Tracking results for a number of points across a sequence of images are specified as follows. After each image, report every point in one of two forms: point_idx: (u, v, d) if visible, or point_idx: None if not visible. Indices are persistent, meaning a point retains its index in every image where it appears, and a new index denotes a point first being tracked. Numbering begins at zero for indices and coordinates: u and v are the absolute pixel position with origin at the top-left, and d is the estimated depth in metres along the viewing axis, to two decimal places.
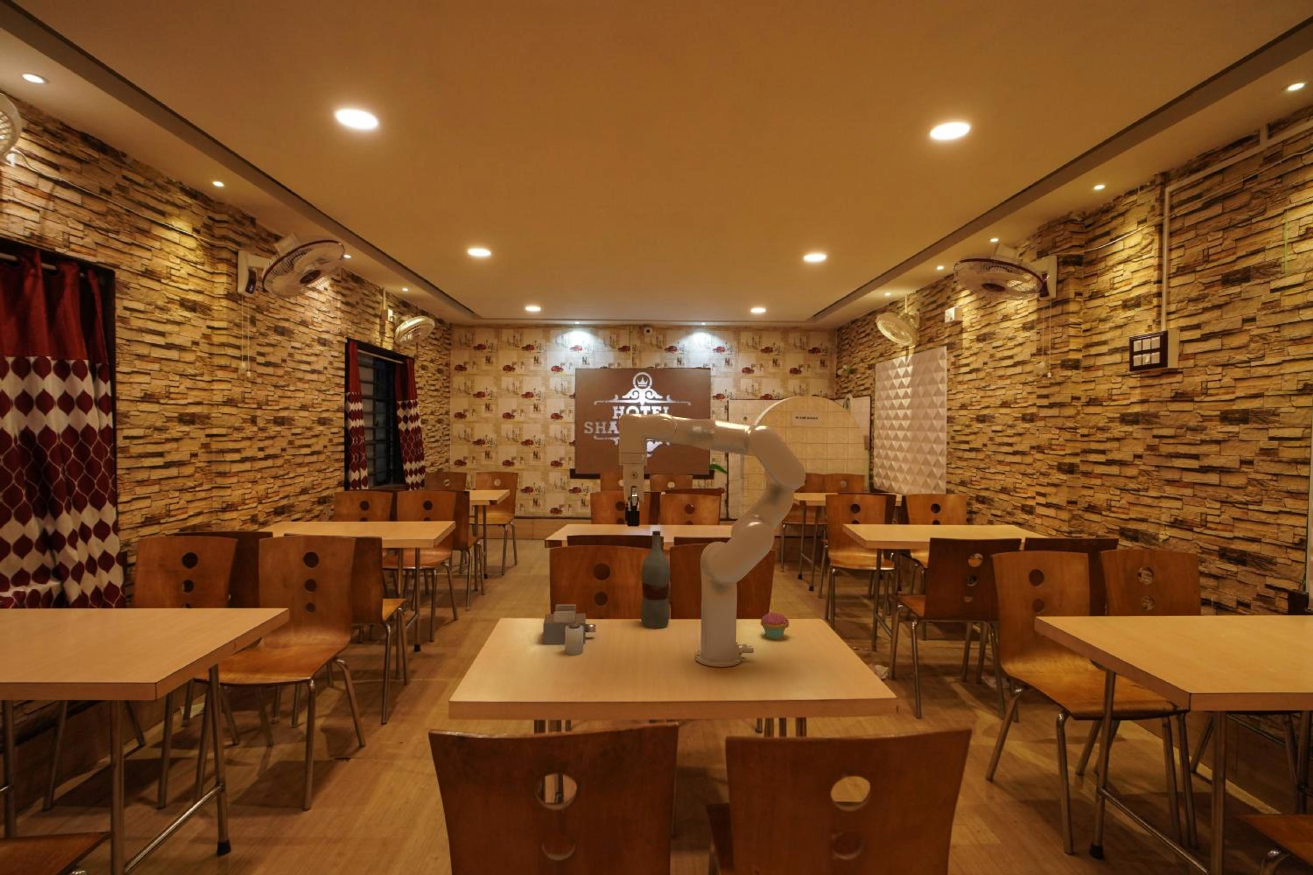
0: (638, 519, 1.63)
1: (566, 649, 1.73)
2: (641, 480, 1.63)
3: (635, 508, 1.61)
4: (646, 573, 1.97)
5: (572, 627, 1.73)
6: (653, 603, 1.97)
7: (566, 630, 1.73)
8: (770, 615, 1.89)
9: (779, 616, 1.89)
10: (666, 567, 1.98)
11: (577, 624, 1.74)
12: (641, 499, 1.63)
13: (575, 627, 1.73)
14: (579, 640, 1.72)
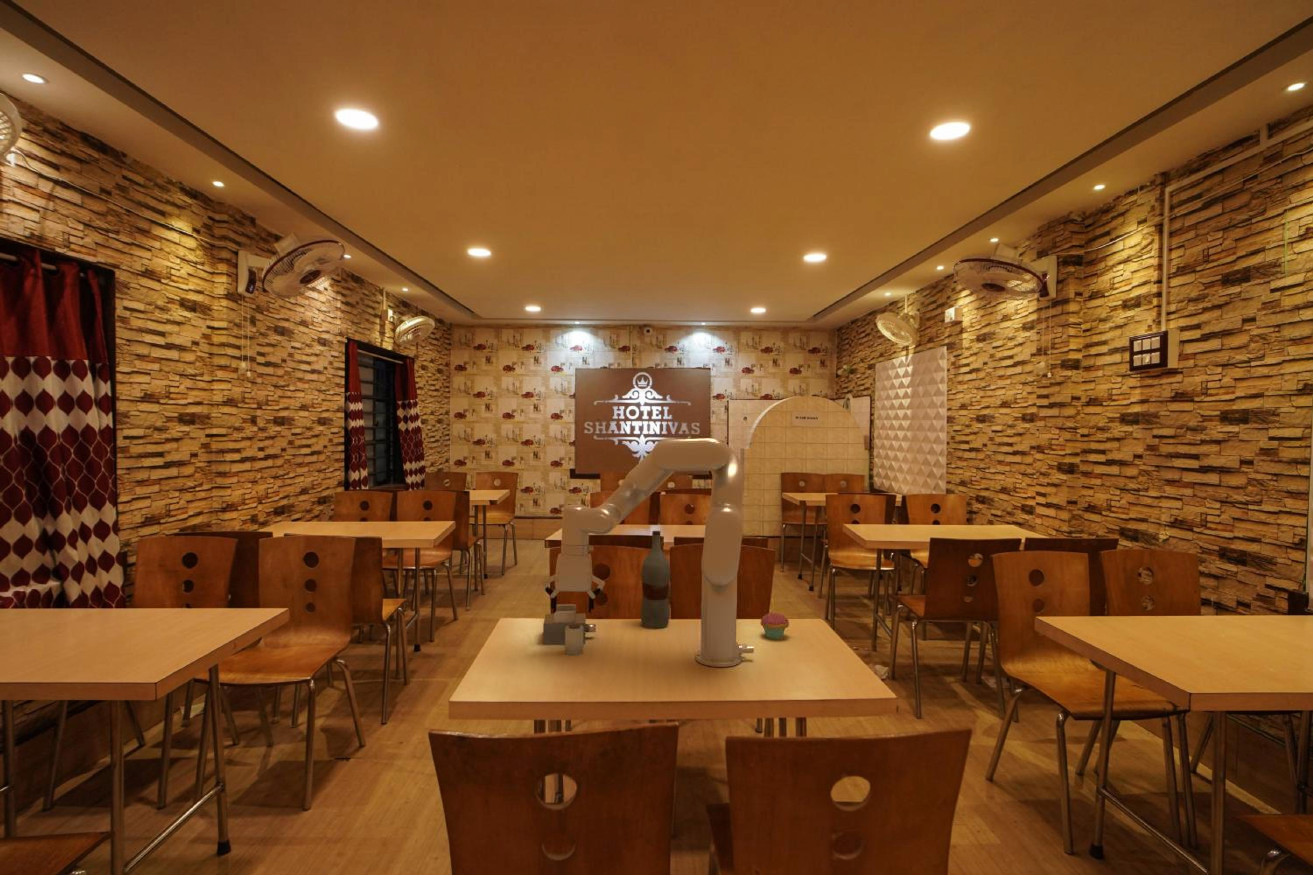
0: None
1: (566, 649, 1.73)
2: None
3: None
4: (646, 573, 1.97)
5: (572, 627, 1.73)
6: (653, 603, 1.97)
7: (566, 630, 1.73)
8: (770, 615, 1.89)
9: (779, 616, 1.89)
10: (666, 567, 1.98)
11: (577, 624, 1.74)
12: None
13: (575, 627, 1.73)
14: (579, 640, 1.72)
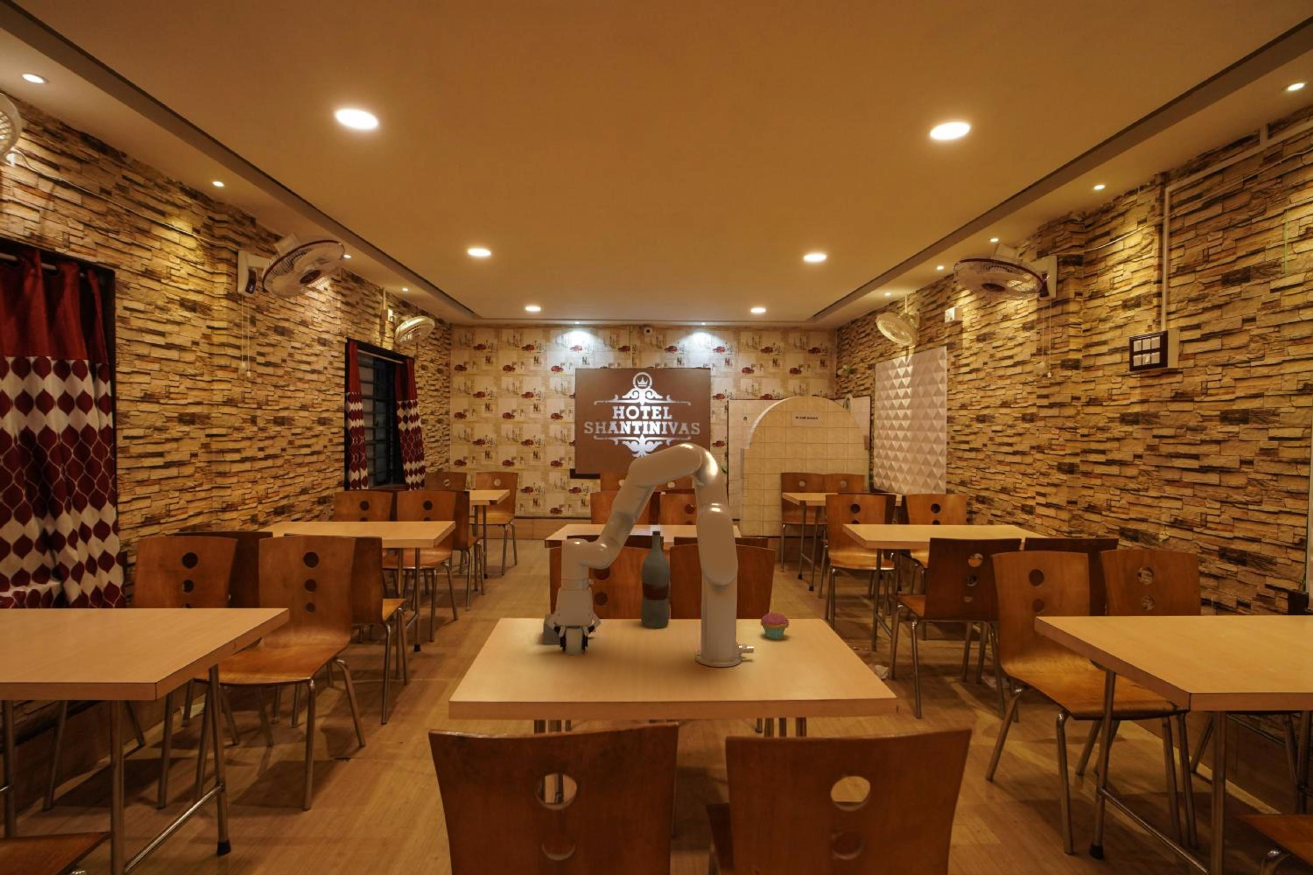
0: None
1: (566, 649, 1.73)
2: None
3: None
4: (646, 573, 1.97)
5: (572, 627, 1.73)
6: (653, 603, 1.97)
7: (566, 630, 1.73)
8: (770, 615, 1.89)
9: (779, 616, 1.89)
10: (666, 567, 1.98)
11: None
12: None
13: (575, 627, 1.73)
14: (579, 640, 1.72)
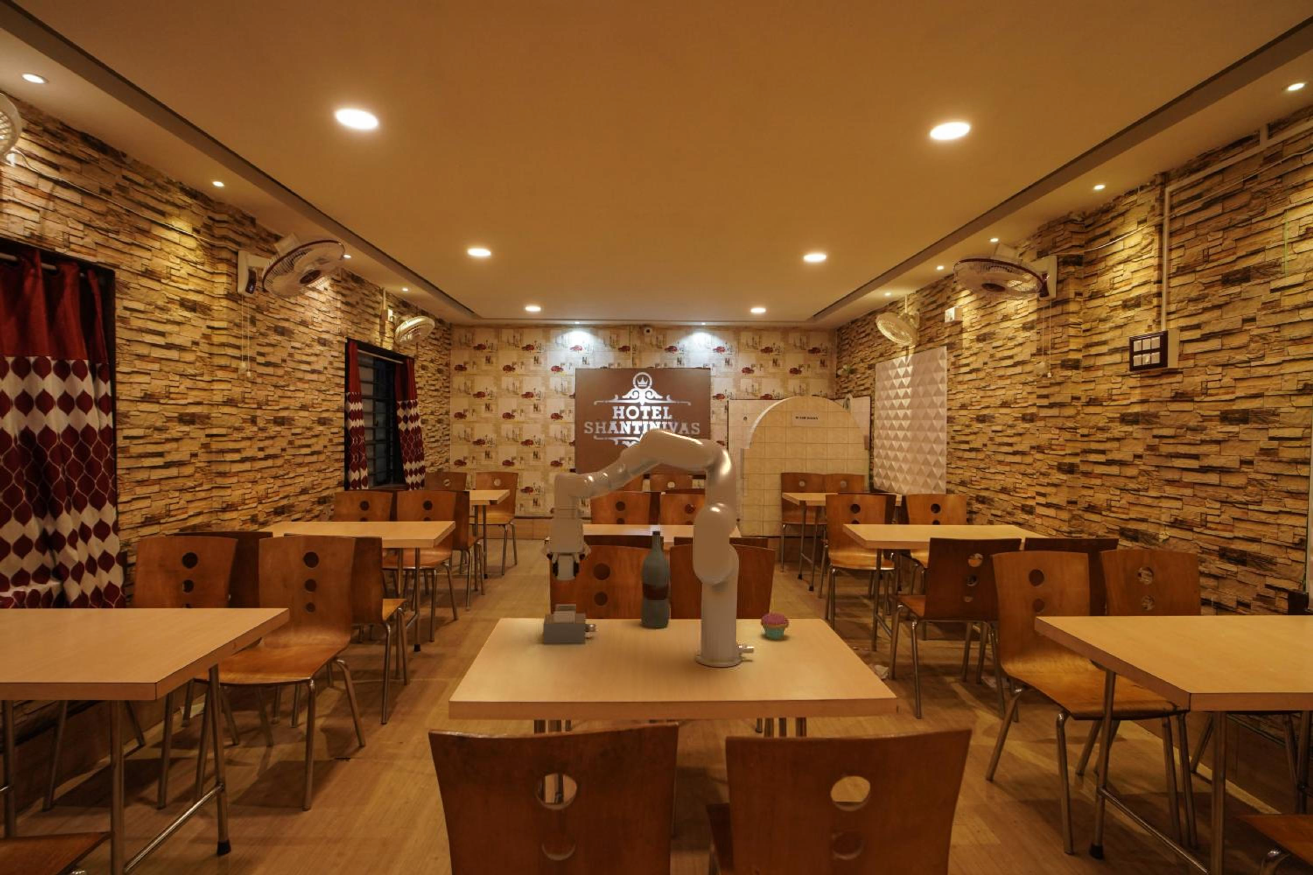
0: None
1: (558, 575, 1.84)
2: None
3: None
4: (646, 573, 1.97)
5: (564, 554, 1.84)
6: (653, 603, 1.97)
7: (558, 557, 1.84)
8: (770, 615, 1.89)
9: (779, 616, 1.89)
10: (666, 567, 1.98)
11: None
12: None
13: (567, 554, 1.84)
14: (571, 566, 1.84)
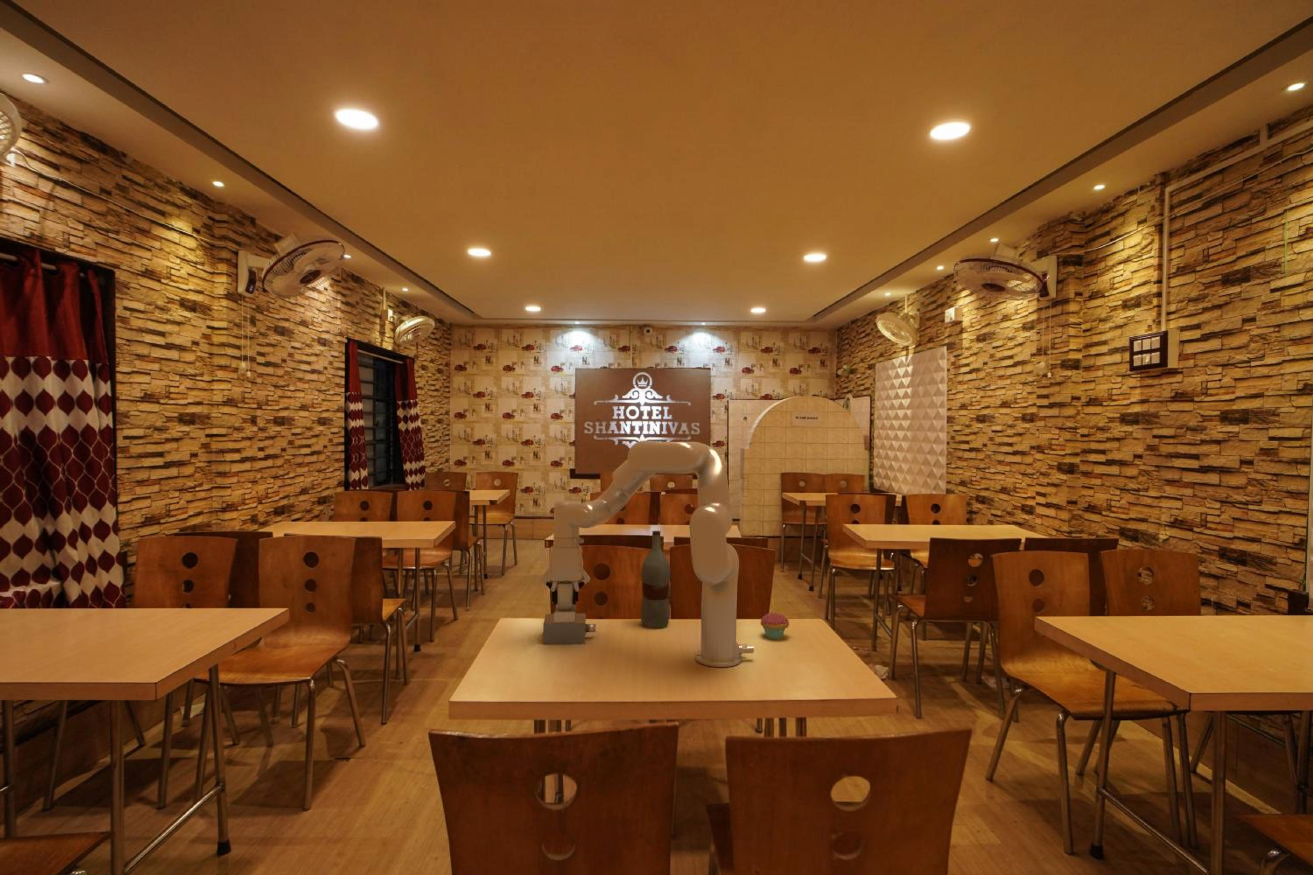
0: None
1: (557, 603, 1.84)
2: None
3: None
4: (646, 573, 1.97)
5: (563, 582, 1.84)
6: (653, 603, 1.97)
7: (558, 585, 1.84)
8: (770, 615, 1.89)
9: (779, 616, 1.89)
10: (666, 567, 1.98)
11: None
12: None
13: (566, 582, 1.84)
14: (570, 594, 1.84)
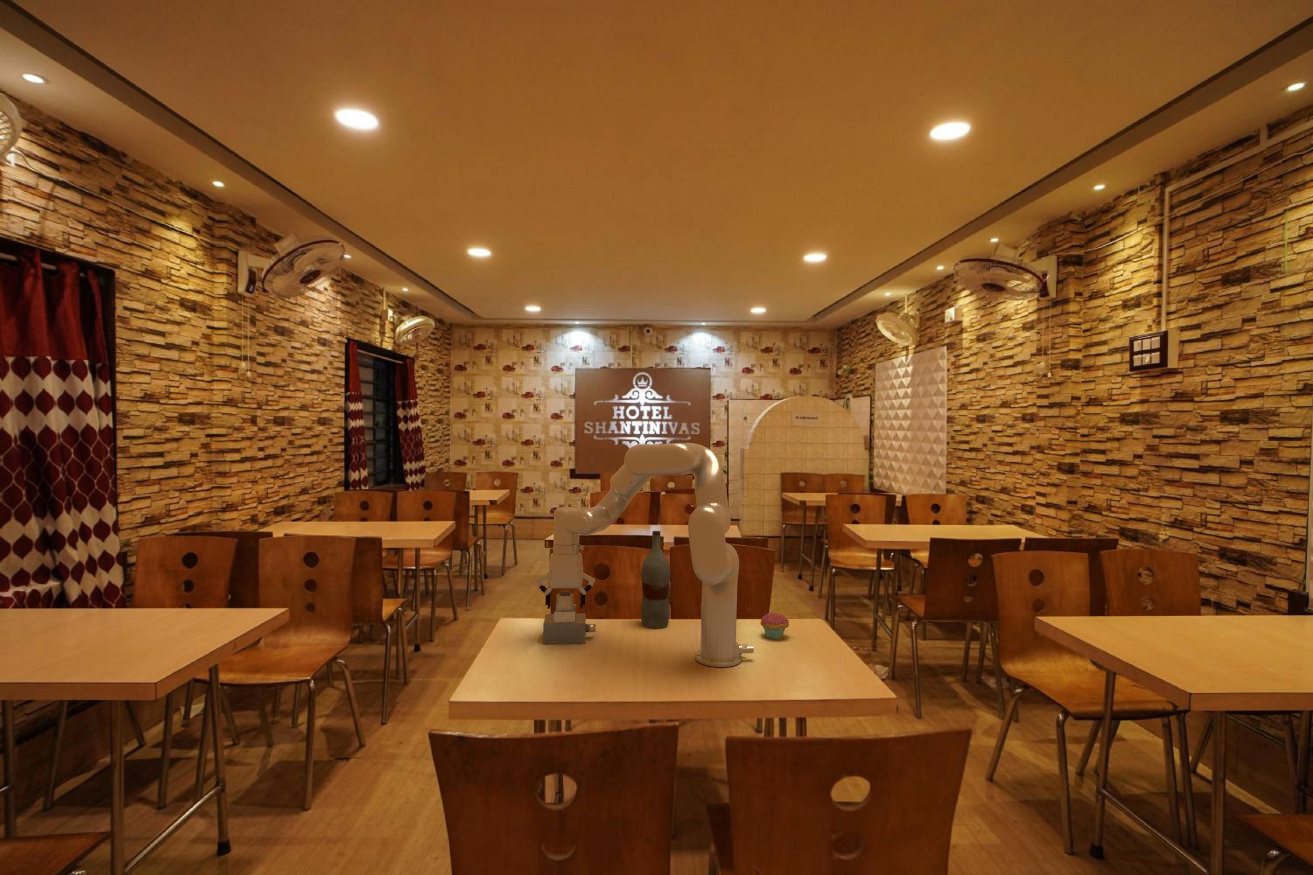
0: None
1: None
2: None
3: None
4: (646, 573, 1.97)
5: (563, 594, 1.84)
6: (653, 603, 1.97)
7: (557, 597, 1.84)
8: (770, 615, 1.89)
9: (779, 616, 1.89)
10: (666, 567, 1.98)
11: (567, 592, 1.86)
12: None
13: (566, 594, 1.84)
14: (570, 606, 1.84)
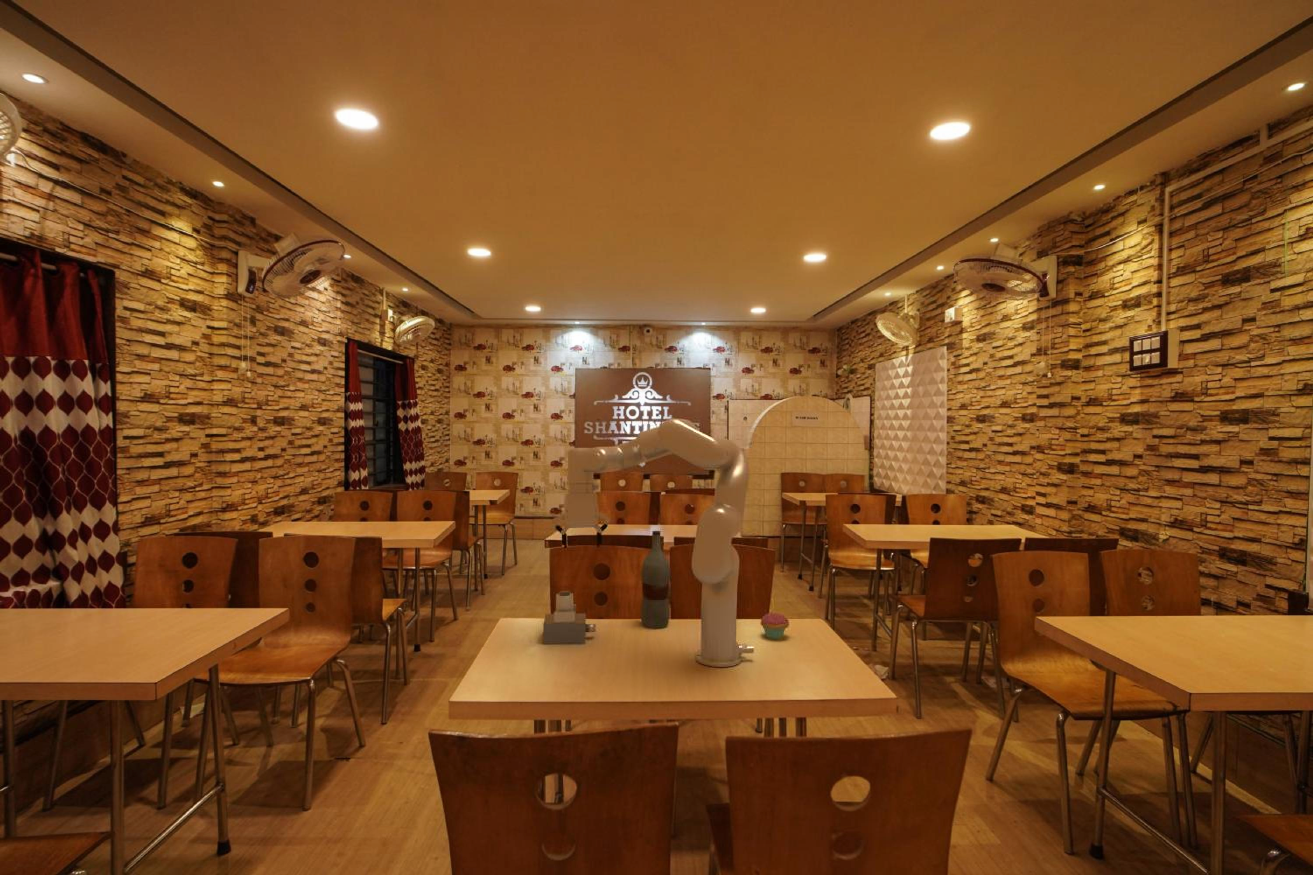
0: None
1: None
2: None
3: None
4: (646, 573, 1.97)
5: (562, 594, 1.84)
6: (653, 603, 1.97)
7: (557, 597, 1.84)
8: (770, 615, 1.89)
9: (779, 616, 1.89)
10: (666, 567, 1.98)
11: (567, 592, 1.86)
12: None
13: (565, 594, 1.84)
14: (569, 606, 1.84)
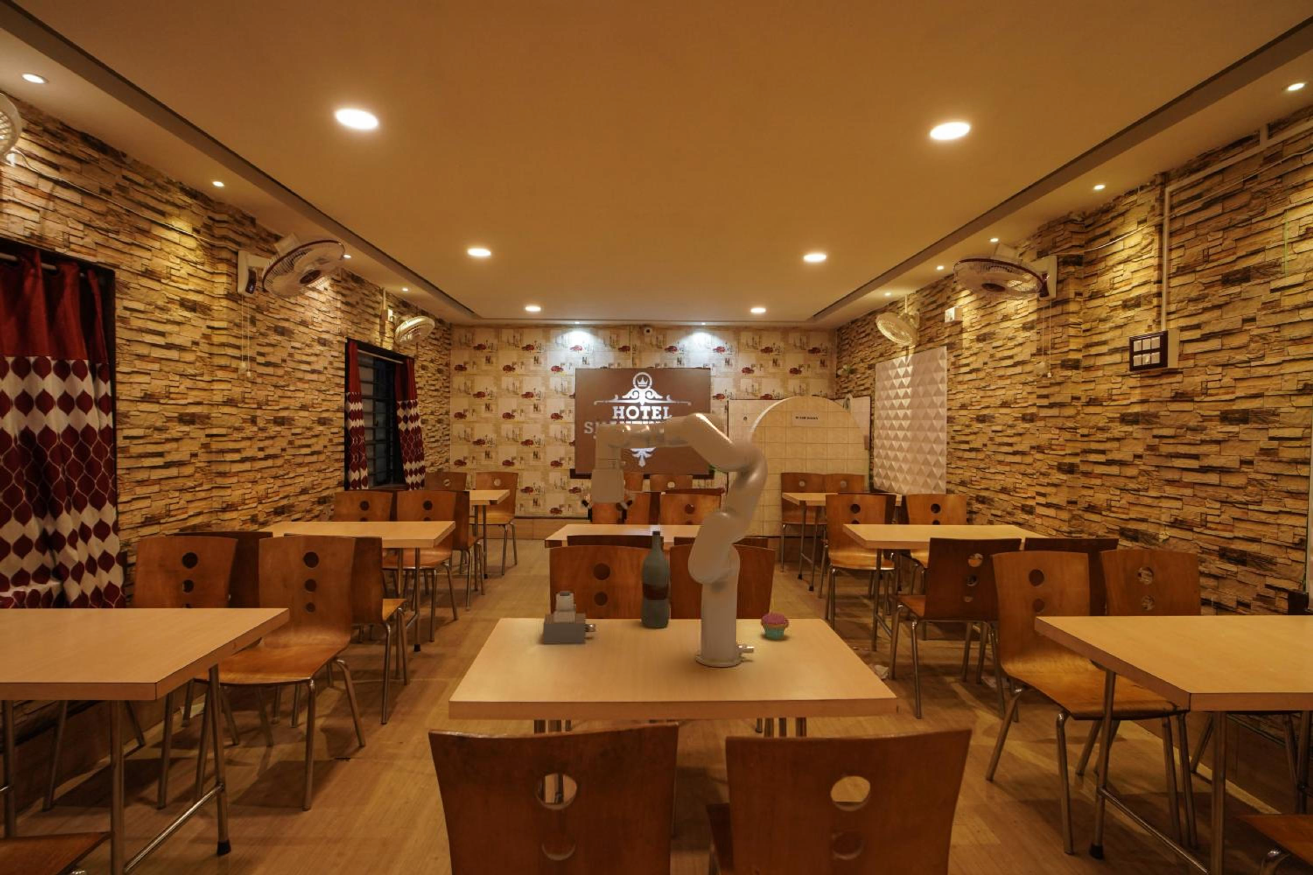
0: None
1: None
2: None
3: None
4: (646, 573, 1.97)
5: (562, 594, 1.84)
6: (653, 603, 1.97)
7: (557, 597, 1.84)
8: (770, 615, 1.89)
9: (779, 616, 1.89)
10: (666, 567, 1.98)
11: (567, 592, 1.85)
12: None
13: (565, 594, 1.84)
14: (569, 606, 1.84)
